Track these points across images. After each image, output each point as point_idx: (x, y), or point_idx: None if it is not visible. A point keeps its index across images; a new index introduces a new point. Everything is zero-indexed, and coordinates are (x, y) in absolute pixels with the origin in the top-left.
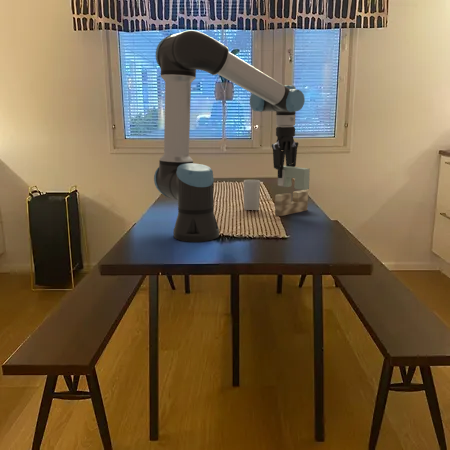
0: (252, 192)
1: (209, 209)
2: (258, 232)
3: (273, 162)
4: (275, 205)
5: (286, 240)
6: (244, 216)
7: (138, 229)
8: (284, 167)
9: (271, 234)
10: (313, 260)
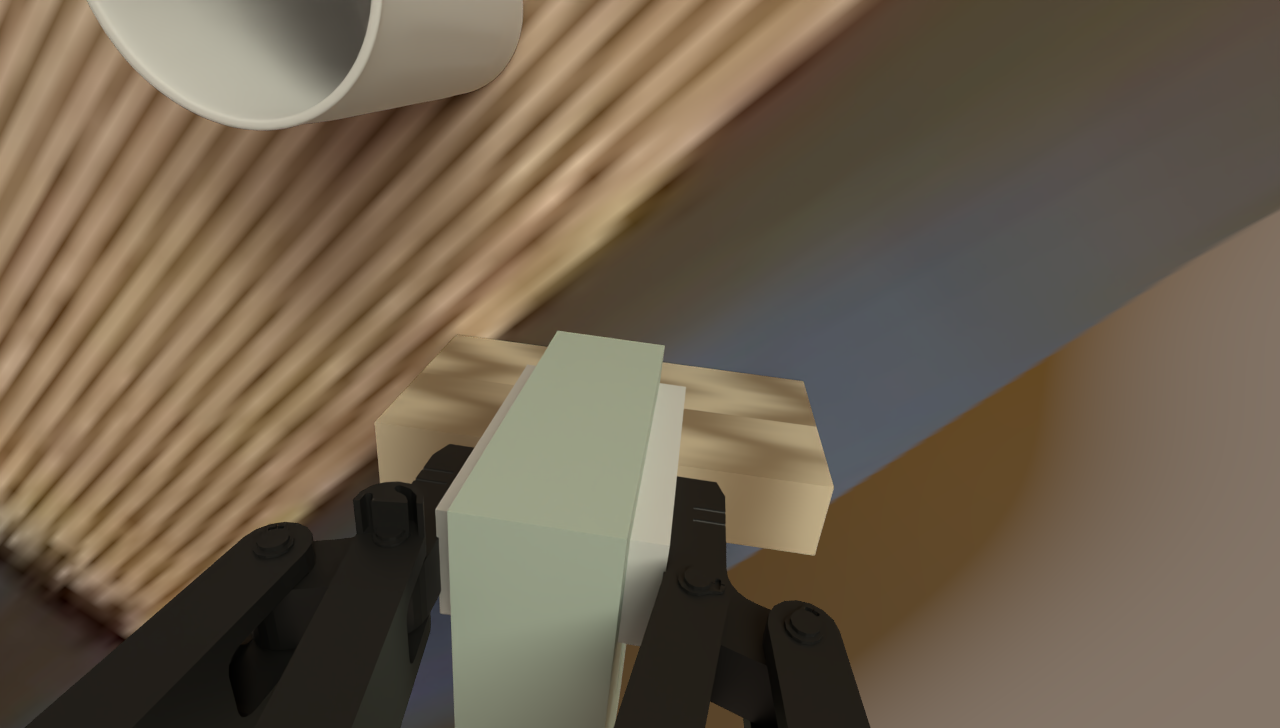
0: (271, 79)
1: None
2: (72, 514)
3: (149, 620)
4: (424, 372)
5: None
6: (204, 175)
7: None
8: (458, 653)
9: (117, 578)
10: None
